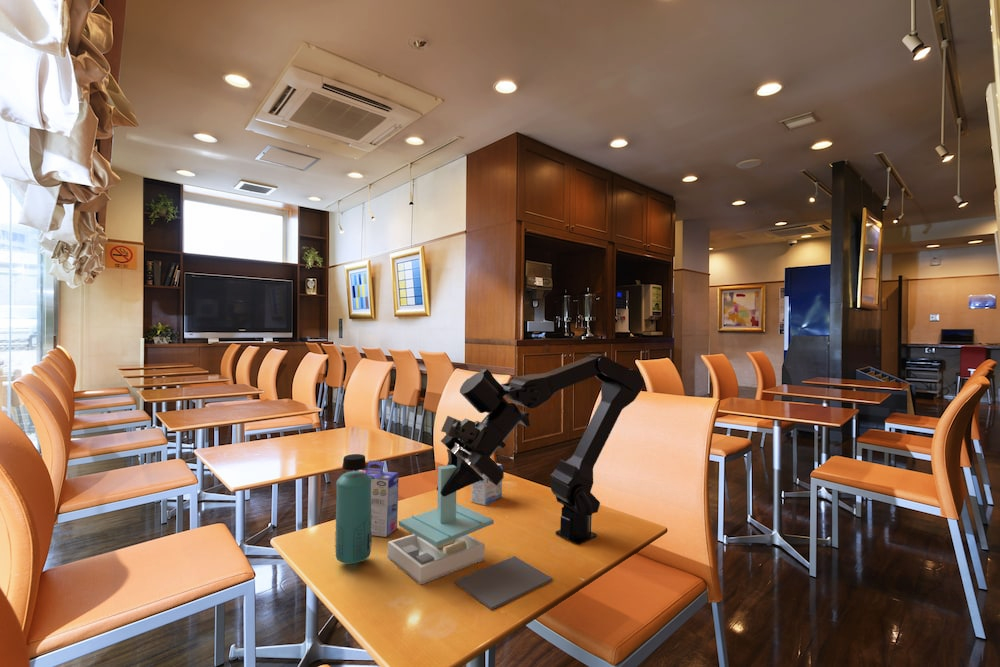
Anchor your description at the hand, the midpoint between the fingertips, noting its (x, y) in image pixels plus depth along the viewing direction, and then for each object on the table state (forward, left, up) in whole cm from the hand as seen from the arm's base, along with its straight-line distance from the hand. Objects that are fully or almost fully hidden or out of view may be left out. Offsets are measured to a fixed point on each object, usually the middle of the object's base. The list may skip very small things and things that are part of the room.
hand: (440, 493), depth 86 cm
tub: (-1, -2, -13) cm, 14 cm away
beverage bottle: (+12, -10, -14) cm, 21 cm away
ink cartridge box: (+3, -21, -14) cm, 25 cm away
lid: (-1, 0, -6) cm, 6 cm away
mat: (-6, +12, -13) cm, 19 cm away
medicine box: (-28, -20, -14) cm, 37 cm away
